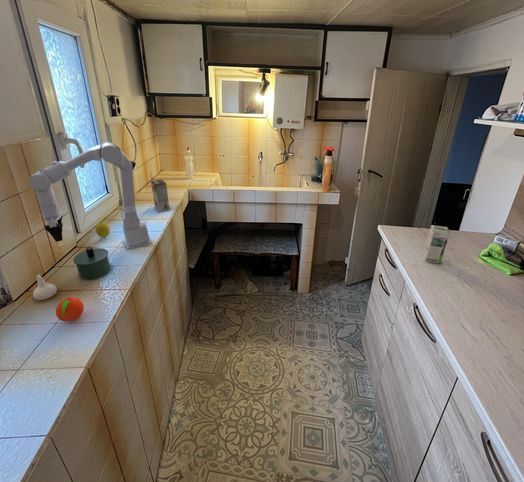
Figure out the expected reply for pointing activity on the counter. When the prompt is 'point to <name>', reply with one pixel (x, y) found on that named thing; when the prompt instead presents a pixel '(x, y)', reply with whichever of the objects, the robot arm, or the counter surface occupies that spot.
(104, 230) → the lemon
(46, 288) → the garlic bulb
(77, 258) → the pot lid
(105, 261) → the pot
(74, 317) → the red tomato
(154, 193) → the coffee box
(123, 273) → the counter surface
